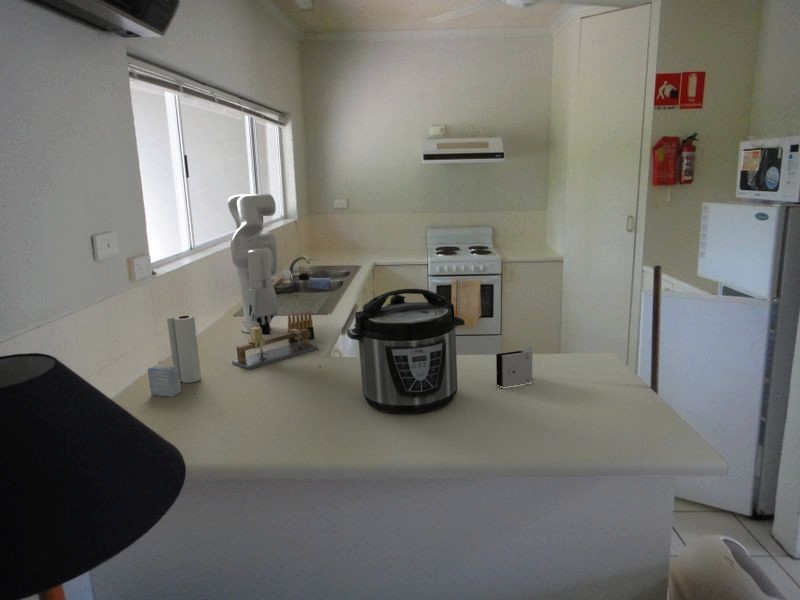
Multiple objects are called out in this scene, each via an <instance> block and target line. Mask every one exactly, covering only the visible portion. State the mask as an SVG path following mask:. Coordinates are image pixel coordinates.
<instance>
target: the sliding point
mask: <svg viewBox="0 0 800 600" xmlns="http://www.w3.org/2000/svg"><path fill="white" fill-rule="evenodd" d="M249 335H250V338H248V339H247V342H248V343H247V344H249V343H254V348H253V349H254V350H256V349H259V353H260V357H261V358H263V352H264V350H263V348H264V347H266V345H265V341H266V339H267V338H265V337H263V336H264V335H262V328H261V327H253V328H250V333H249Z"/></svg>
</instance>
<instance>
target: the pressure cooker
mask: <svg viewBox="0 0 800 600" xmlns="http://www.w3.org/2000/svg"><path fill="white" fill-rule="evenodd" d="M404 294H408V295H409V294H410V295H411V294H412V295H413V294H415V295H422V296H423V297H424V299H425V300H426V301H425V302H423V301H421V302H419V301H418V302H417V301H416V302H412V301H411V302H407V301H405V298H406V296H404ZM389 297H390V301H389V303H388V304H385V303H386V301H387V300H388V298H389ZM354 317H355V324H354V325H353V326H354V327H353V328H350V329H347V331H346V335H347V337H348V338H349V339H350V340H355V341H358V348H359V359H360V360H359V363H360V376H361V387H362V390H361V391H362V394H363V397H364V399H365V400H366V402H367V404H368V405H370V406H371V407H373V408H375V409H377V410H379V411H382V412H385V413H386V412H387V413H391V414H392V413H393V414H420V413H426V412H430V411H435V410H438V409H440V408H442V407H445V406H447V405H448V404H449V403H451V402H452V401H453V399H454V398H455V396H456V394H457V393H458V369H457V368H458V366H457V362H458V361H457V338H456V336H457V335H456V327H458V326H461V327H462V326H465V325H466V324H465V320H464V319H462V318H461V317H458V316H455V306H454V304H453V303H452V302H451V301H447V299H446V297H444V296H442V294H439V293H437V292H435V291H431V290H428V289H421V288H402V289H396V290H392V291H391V290H390V291H387V292H385V293H382V294H379V295H377V296H376V297H374V298H372V299H370V300H369V301H368V302H366V303H365V304H364V305H363V306H362V310H360V311H356V312H355V313H354Z"/></svg>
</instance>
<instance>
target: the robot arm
mask: <svg viewBox="0 0 800 600" xmlns="http://www.w3.org/2000/svg"><path fill="white" fill-rule="evenodd" d="M227 207H228V209H229V212H230V214H231V217H233V219H234V222H235V225H236V227H235V228H236V231H235V232H234V233H233V236H232V237H231V241H230V252H231V260H232V264H233V266H234V268H236V271H237V276H238V279H239V284H240V285H239V286H240V290H241V291H240V293H241V299H242V300H241V302H242V310H243V311H242V313H243V320H241V323H242V324H244V325H243V326H242V327H241V328H240V329H241V332H242V333H246V334H250V328H253V327H261V328H262V336H269V335H271V329H272V325H271V322H272V320H273V318H274V317H276V316H278V300H277V295H276V291H275V287H274V286H273V283H275V279H276V278H277V277H278V275H279V272H280V269H279V268H280V267H279V255H278V252H279V251H278V243H277V238H276V236H275V233H274V232H272V231H271V232H270V231H266V232H265V231H263V230H264V222H263V218H262V217H270V216H271V217H272V216H274V215H275V214H276V209H277V205H276V201H275V198H274V196H273V195H272V194H271V193H270V194H269V193H253V194H252V193H251V194H236V195H235V194H234V195H232V196H230V197H229V198H228V200H227ZM262 231H263V232H262Z"/></svg>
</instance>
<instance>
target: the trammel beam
mask: <svg viewBox="0 0 800 600" xmlns="http://www.w3.org/2000/svg"><path fill="white" fill-rule="evenodd" d="M300 336H301V339H302V341H301V342H302V344H303V345H307V344H310V340H309V334H308V329H301V330H298V329H292V330H290V333H288V332H287V333H283V334H280V335H279V334H278V335H276V336H275V335H274V336H272V337H268V338H265V339H266V341H265V346H267V345H272V344H274V343H275V344H276V343H278V342H282V341H286V340H288V339H290V338H293V337H297V342H298V348H301V345H300ZM253 349H254V343H246V344H242V345H238V346H236V357H237V359H238V363H241V364H242V363H245V362H246V357H247V355H246V351H249V350H253Z"/></svg>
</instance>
